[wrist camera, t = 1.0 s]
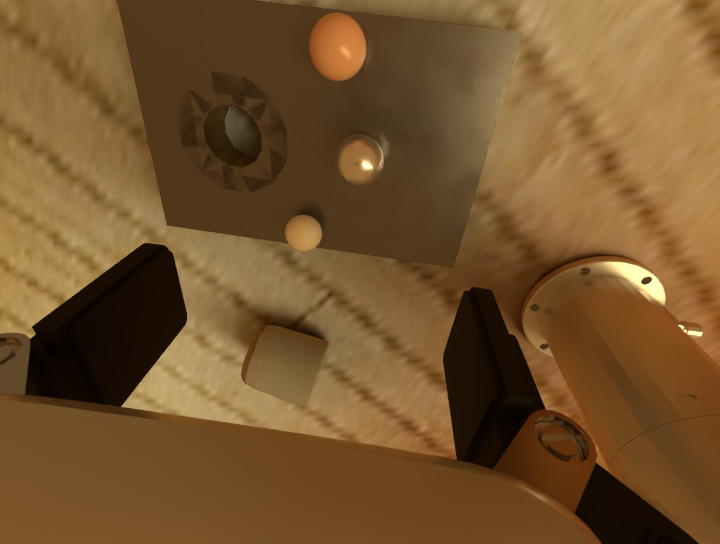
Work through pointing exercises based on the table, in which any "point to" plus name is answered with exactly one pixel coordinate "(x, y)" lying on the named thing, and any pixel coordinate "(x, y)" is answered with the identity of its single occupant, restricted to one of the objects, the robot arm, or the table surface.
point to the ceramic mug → (284, 363)
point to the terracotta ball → (337, 46)
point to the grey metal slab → (317, 122)
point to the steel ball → (359, 159)
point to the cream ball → (303, 233)
